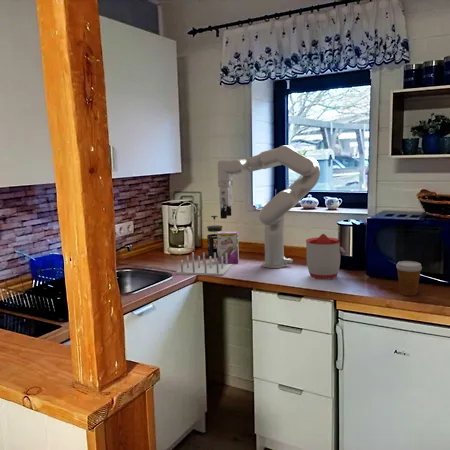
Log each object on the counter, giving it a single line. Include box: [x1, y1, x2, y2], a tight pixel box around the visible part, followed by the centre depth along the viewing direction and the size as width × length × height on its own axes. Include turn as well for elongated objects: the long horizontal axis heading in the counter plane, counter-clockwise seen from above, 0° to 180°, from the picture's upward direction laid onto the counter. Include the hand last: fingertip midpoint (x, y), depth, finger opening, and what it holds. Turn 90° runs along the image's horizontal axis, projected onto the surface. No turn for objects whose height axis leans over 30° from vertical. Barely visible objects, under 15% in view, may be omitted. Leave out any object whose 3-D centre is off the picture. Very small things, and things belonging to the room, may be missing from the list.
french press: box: [206, 215, 223, 259], centre depth 257 cm, size 12×9×23 cm
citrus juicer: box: [305, 233, 346, 280], centre depth 208 cm, size 16×17×20 cm
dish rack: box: [175, 251, 234, 277], centre depth 228 cm, size 24×19×7 cm
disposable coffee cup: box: [396, 260, 423, 296], centre depth 181 cm, size 10×10×12 cm
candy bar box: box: [216, 231, 240, 265], centre depth 241 cm, size 11×5×16 cm, turn 84°
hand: (226, 217), depth 238 cm, fingers open, 9 cm apart
